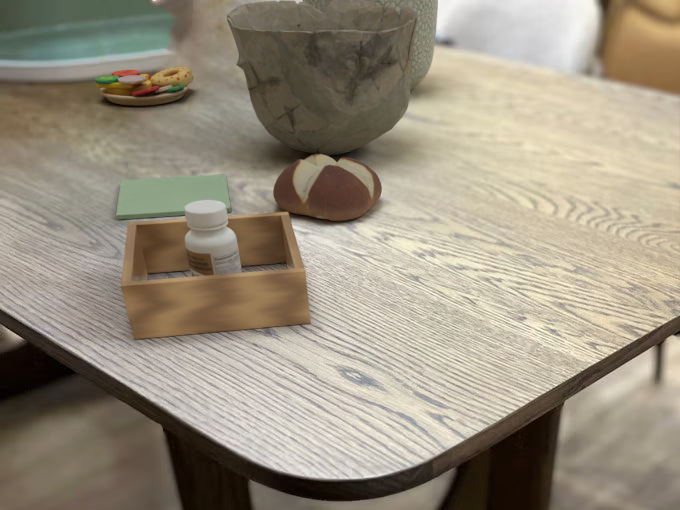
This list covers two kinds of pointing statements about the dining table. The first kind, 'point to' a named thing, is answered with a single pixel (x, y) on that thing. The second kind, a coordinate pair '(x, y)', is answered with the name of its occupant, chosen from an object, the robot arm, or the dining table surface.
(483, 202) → the dining table surface
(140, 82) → the toy food set
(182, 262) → the compartment
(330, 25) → the bowl
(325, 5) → the planter
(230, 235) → the pill bottle
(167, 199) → the mat
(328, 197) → the bread
